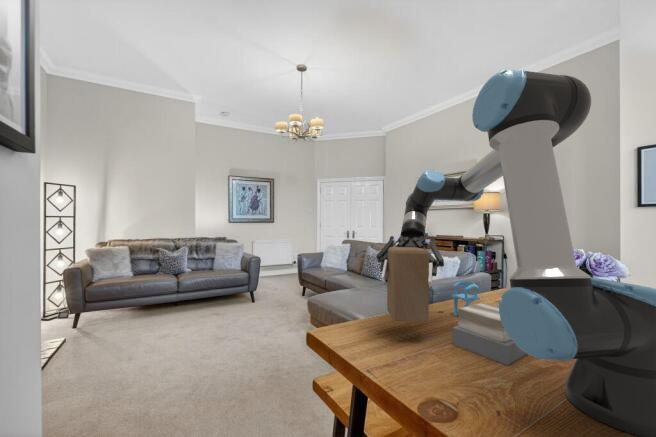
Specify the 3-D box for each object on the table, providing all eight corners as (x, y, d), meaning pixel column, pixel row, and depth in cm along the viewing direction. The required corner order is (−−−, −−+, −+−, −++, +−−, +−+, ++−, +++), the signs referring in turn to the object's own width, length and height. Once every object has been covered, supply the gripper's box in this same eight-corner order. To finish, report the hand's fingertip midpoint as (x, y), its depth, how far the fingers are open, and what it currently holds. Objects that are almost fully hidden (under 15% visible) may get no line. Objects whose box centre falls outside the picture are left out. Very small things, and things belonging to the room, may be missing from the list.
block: (429, 323, 79) (430, 250, 80) (393, 322, 80) (393, 249, 80) (419, 311, 89) (419, 247, 90) (386, 311, 90) (387, 246, 90)
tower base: (507, 367, 68) (508, 346, 68) (452, 345, 79) (452, 327, 79) (531, 352, 76) (531, 333, 76) (478, 334, 87) (478, 318, 87)
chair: (448, 313, 106) (448, 280, 106) (464, 310, 109) (465, 279, 109) (465, 320, 99) (466, 285, 99) (483, 317, 102) (483, 283, 102)
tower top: (503, 342, 70) (503, 321, 70) (458, 326, 80) (458, 308, 80) (527, 333, 76) (528, 314, 76) (483, 319, 86) (483, 302, 86)
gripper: (453, 237, 94) (452, 294, 80) (379, 234, 104) (366, 285, 90) (453, 220, 89) (452, 278, 75) (375, 219, 99) (361, 270, 85)
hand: (405, 282), depth 82 cm, fingers closed on block, 12 cm apart
